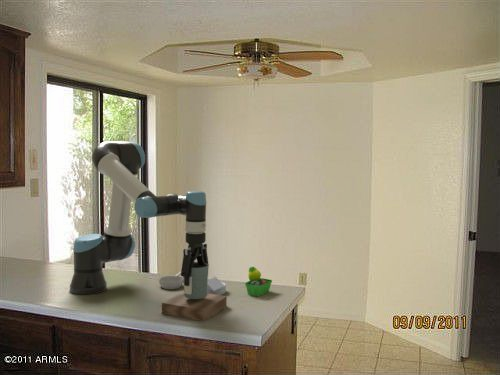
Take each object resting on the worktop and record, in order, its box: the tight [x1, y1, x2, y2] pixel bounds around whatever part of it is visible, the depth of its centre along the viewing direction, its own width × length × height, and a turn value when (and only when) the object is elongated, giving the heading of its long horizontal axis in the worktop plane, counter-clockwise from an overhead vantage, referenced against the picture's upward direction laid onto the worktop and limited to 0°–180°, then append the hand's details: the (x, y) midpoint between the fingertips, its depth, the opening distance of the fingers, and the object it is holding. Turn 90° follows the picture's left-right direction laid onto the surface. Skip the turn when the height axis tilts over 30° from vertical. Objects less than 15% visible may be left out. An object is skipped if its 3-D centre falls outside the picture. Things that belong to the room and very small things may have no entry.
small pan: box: [158, 270, 184, 290], centre depth 214 cm, size 11×18×4 cm, turn 169°
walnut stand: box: [161, 291, 228, 322], centre depth 180 cm, size 18×18×4 cm
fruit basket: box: [244, 266, 273, 297], centre depth 203 cm, size 11×9×11 cm
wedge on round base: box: [207, 276, 227, 295], centre depth 201 cm, size 9×7×13 cm
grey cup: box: [182, 261, 210, 299], centre depth 179 cm, size 10×10×12 cm
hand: (195, 290), depth 179 cm, fingers closed on grey cup, 9 cm apart
